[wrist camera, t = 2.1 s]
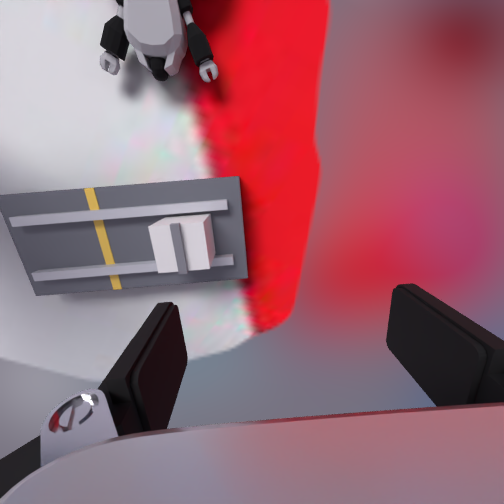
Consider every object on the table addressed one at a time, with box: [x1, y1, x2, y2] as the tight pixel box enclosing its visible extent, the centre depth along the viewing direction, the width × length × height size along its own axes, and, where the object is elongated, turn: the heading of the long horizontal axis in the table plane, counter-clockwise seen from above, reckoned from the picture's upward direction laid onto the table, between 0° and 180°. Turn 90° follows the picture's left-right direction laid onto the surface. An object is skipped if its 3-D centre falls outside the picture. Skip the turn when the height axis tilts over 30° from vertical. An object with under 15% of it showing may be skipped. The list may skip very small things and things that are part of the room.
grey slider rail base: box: [0, 176, 248, 296], centre depth 28 cm, size 12×26×4 cm, turn 94°
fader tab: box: [148, 214, 216, 274], centre depth 24 cm, size 5×5×6 cm
